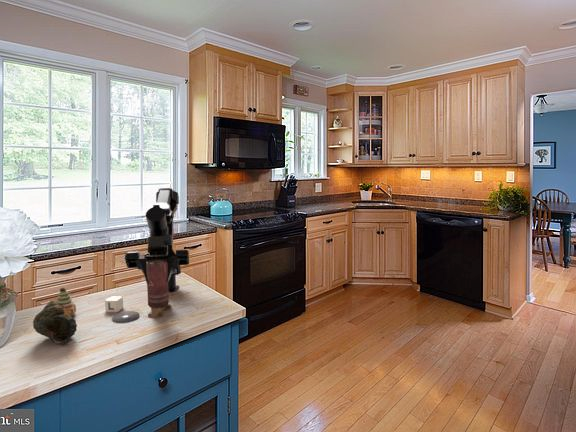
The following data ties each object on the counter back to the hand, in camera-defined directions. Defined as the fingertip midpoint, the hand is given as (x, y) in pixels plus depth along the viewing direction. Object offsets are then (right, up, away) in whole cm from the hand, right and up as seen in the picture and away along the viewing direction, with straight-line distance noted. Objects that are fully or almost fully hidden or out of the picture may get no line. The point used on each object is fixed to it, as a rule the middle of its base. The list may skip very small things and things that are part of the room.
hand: (157, 282), depth 111 cm
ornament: (-33, -13, +6) cm, 35 cm away
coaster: (-12, -12, +7) cm, 19 cm away
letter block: (-19, -12, +13) cm, 26 cm away
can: (0, -8, +3) cm, 8 cm away
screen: (-3, -12, +12) cm, 17 cm away
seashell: (-25, -15, -9) cm, 30 cm away
